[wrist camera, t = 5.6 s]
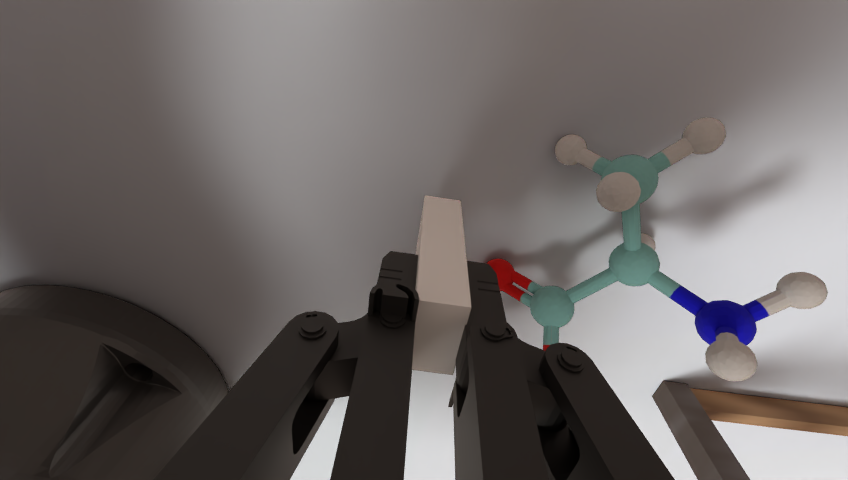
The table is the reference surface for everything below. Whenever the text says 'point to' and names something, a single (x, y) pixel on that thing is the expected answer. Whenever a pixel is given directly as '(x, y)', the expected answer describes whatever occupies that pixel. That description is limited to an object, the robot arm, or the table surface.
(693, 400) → the housing
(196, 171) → the table surface
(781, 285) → the molecular model
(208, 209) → the table surface
